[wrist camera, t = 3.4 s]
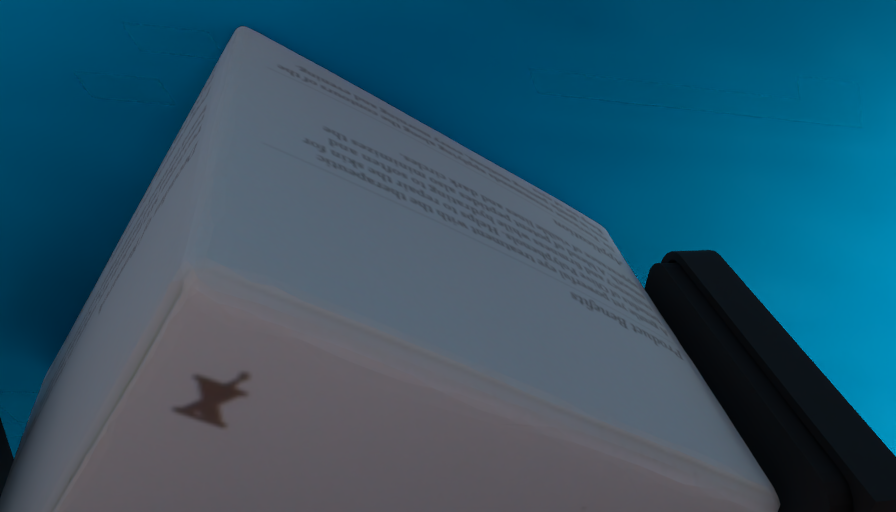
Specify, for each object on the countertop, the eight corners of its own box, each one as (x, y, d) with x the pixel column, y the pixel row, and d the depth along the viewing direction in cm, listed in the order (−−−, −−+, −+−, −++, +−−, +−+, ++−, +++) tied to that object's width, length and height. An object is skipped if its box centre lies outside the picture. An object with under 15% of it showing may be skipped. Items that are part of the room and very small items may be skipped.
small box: (39, 371, 10) (-115, 771, 6) (234, 1, 8) (190, 248, 4) (396, 484, 13) (449, 821, 9) (616, 222, 11) (819, 508, 7)
